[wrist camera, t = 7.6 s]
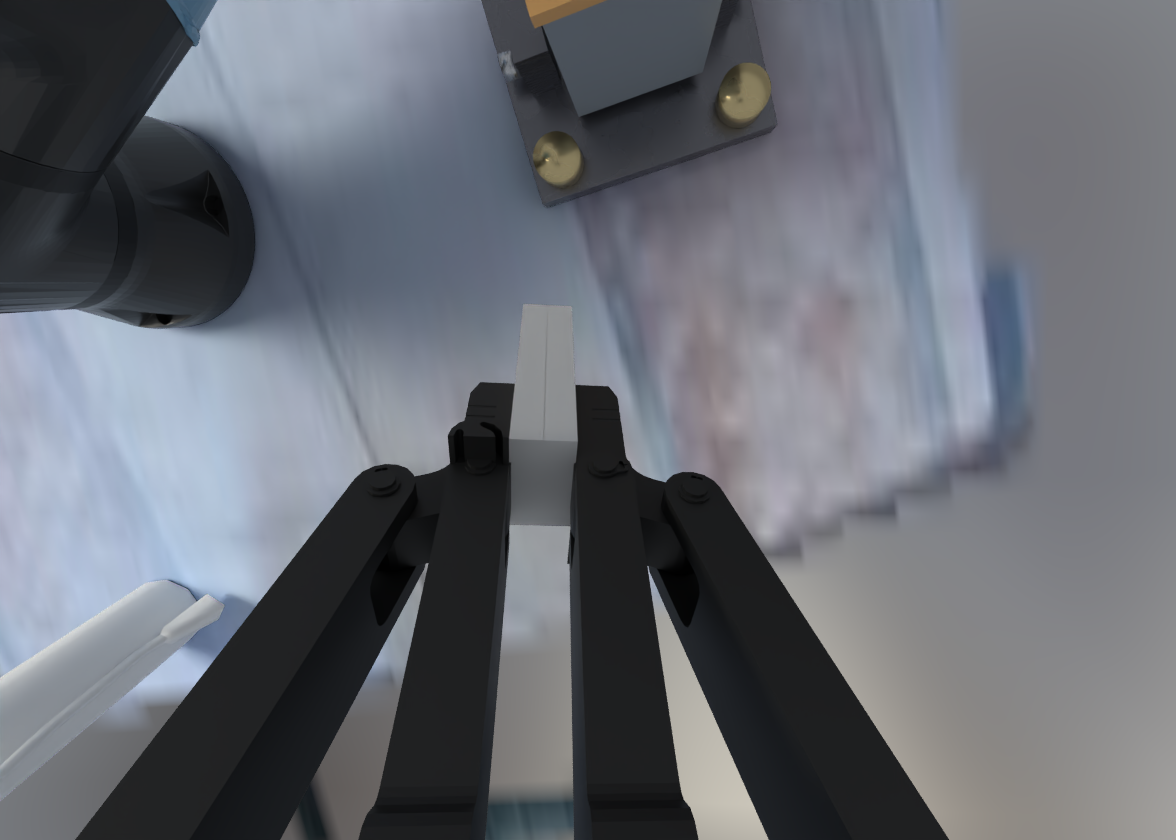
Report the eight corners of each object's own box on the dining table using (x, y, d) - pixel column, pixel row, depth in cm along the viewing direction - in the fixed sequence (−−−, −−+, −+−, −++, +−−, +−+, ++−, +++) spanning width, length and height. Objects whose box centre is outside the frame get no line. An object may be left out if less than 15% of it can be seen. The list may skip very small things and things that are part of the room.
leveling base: (770, 132, 39) (802, 94, 31) (547, 207, 41) (525, 190, 34) (712, -135, 36) (730, -251, 28) (474, -36, 38) (431, -117, 30)
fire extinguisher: (252, 634, 52) (-87, 937, 28) (137, 652, 54) (-275, 951, 30) (226, 567, 51) (-153, 825, 27) (109, 587, 53) (-347, 847, 28)
